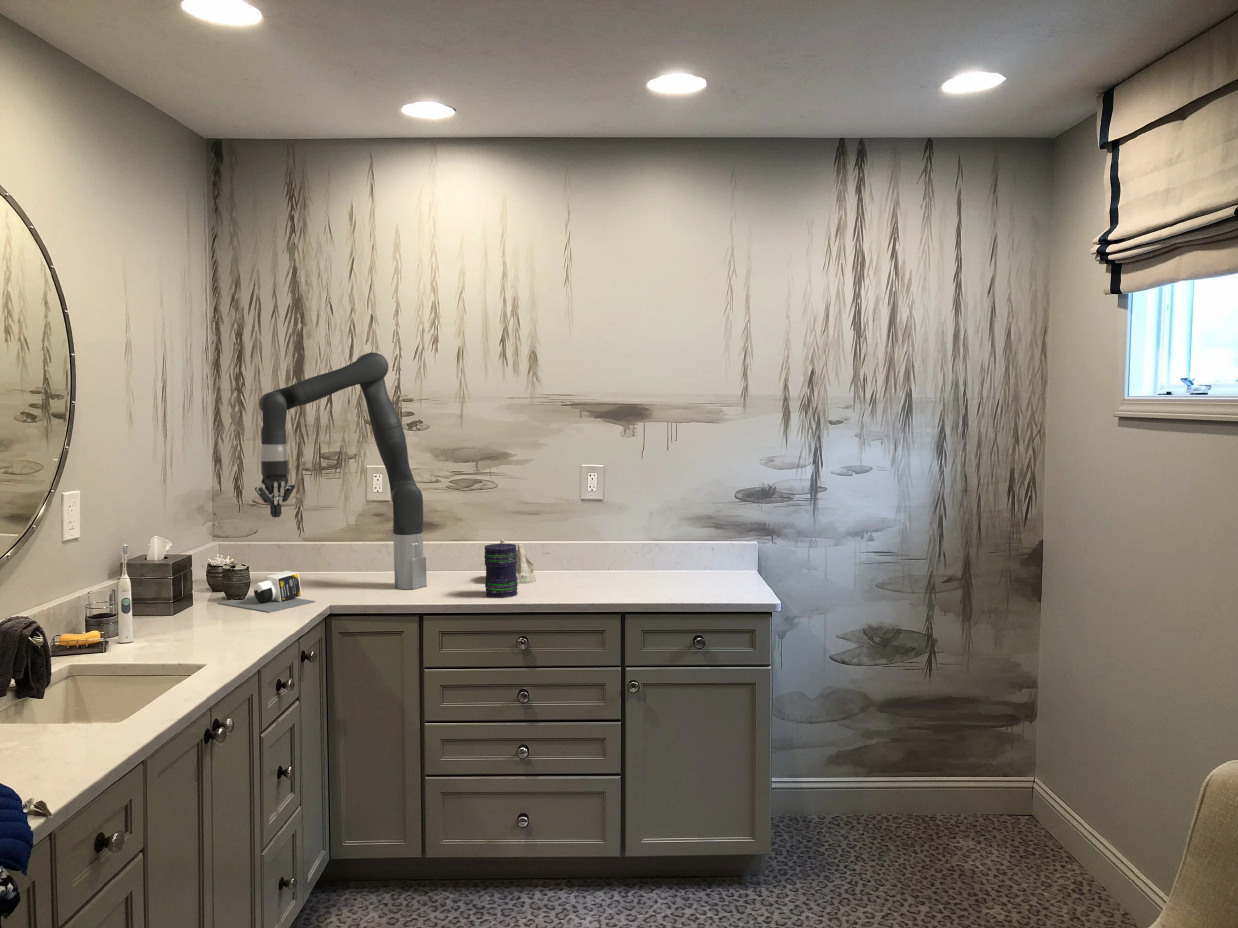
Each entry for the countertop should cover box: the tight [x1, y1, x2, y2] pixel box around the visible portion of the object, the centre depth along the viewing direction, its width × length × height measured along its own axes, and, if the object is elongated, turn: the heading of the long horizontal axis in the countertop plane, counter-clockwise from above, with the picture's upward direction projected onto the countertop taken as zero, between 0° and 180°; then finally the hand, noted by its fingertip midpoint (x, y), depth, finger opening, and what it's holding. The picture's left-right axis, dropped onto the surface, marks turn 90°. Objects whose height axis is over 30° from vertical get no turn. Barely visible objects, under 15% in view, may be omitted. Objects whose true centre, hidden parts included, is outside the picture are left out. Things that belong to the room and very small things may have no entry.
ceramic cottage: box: [483, 538, 537, 585], centre depth 310 cm, size 16×16×15 cm
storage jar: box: [484, 543, 519, 599], centre depth 287 cm, size 10×10×15 cm
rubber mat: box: [217, 594, 316, 614], centre depth 281 cm, size 24×16×1 cm, turn 57°
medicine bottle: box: [253, 570, 303, 603], centre depth 282 cm, size 7×7×12 cm
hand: (276, 516), depth 283 cm, fingers closed
